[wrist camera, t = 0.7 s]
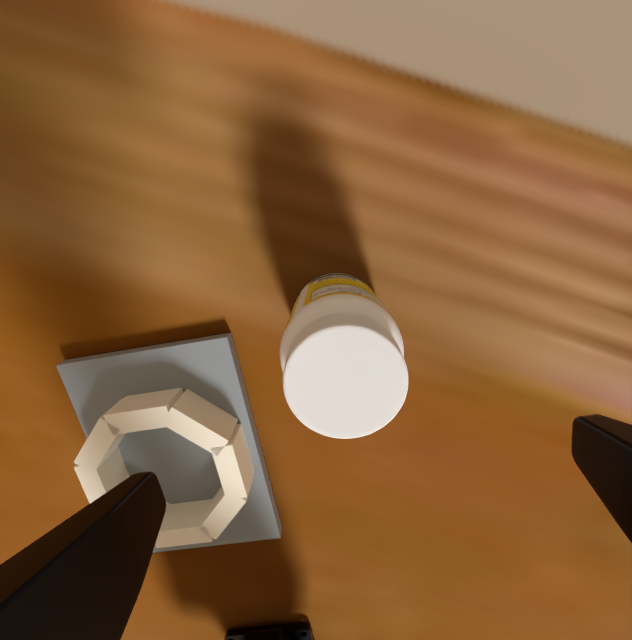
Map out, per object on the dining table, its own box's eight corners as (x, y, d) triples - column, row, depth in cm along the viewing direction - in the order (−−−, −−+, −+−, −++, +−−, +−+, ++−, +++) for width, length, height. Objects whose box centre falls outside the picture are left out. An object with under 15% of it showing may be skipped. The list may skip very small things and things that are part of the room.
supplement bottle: (333, 371, 20) (338, 475, 12) (275, 313, 19) (236, 382, 11) (398, 316, 19) (453, 388, 11) (339, 252, 18) (350, 278, 10)
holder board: (282, 527, 23) (276, 568, 20) (141, 543, 24) (118, 585, 21) (231, 332, 19) (215, 350, 16) (66, 359, 20) (25, 381, 17)
